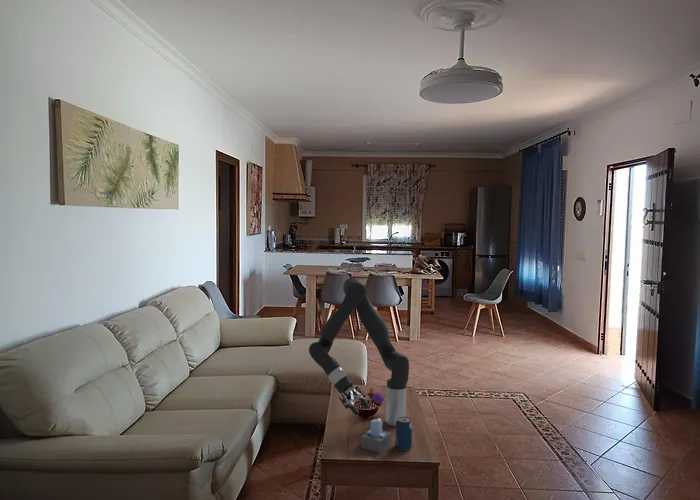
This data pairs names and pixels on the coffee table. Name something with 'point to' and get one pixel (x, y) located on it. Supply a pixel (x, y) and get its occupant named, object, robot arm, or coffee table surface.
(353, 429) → the coffee table surface
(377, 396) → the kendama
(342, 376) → the robot arm
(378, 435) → the block
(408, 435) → the soda can
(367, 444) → the grey block with hole
